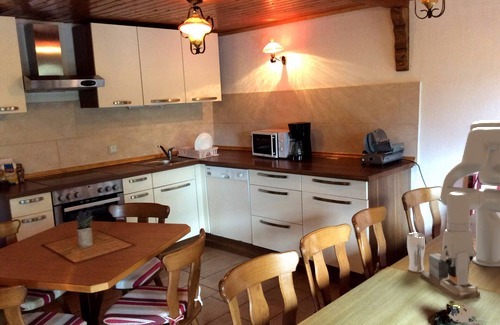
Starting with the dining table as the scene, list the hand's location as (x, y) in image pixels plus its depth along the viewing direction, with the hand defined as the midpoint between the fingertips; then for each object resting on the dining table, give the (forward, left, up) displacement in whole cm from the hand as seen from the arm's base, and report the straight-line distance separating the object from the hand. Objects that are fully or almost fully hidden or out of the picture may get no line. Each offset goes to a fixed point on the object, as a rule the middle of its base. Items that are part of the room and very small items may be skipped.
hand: (458, 274), depth 160 cm
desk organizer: (0, -6, -7) cm, 9 cm away
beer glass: (+2, -24, -7) cm, 25 cm away
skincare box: (0, 0, -3) cm, 3 cm away
